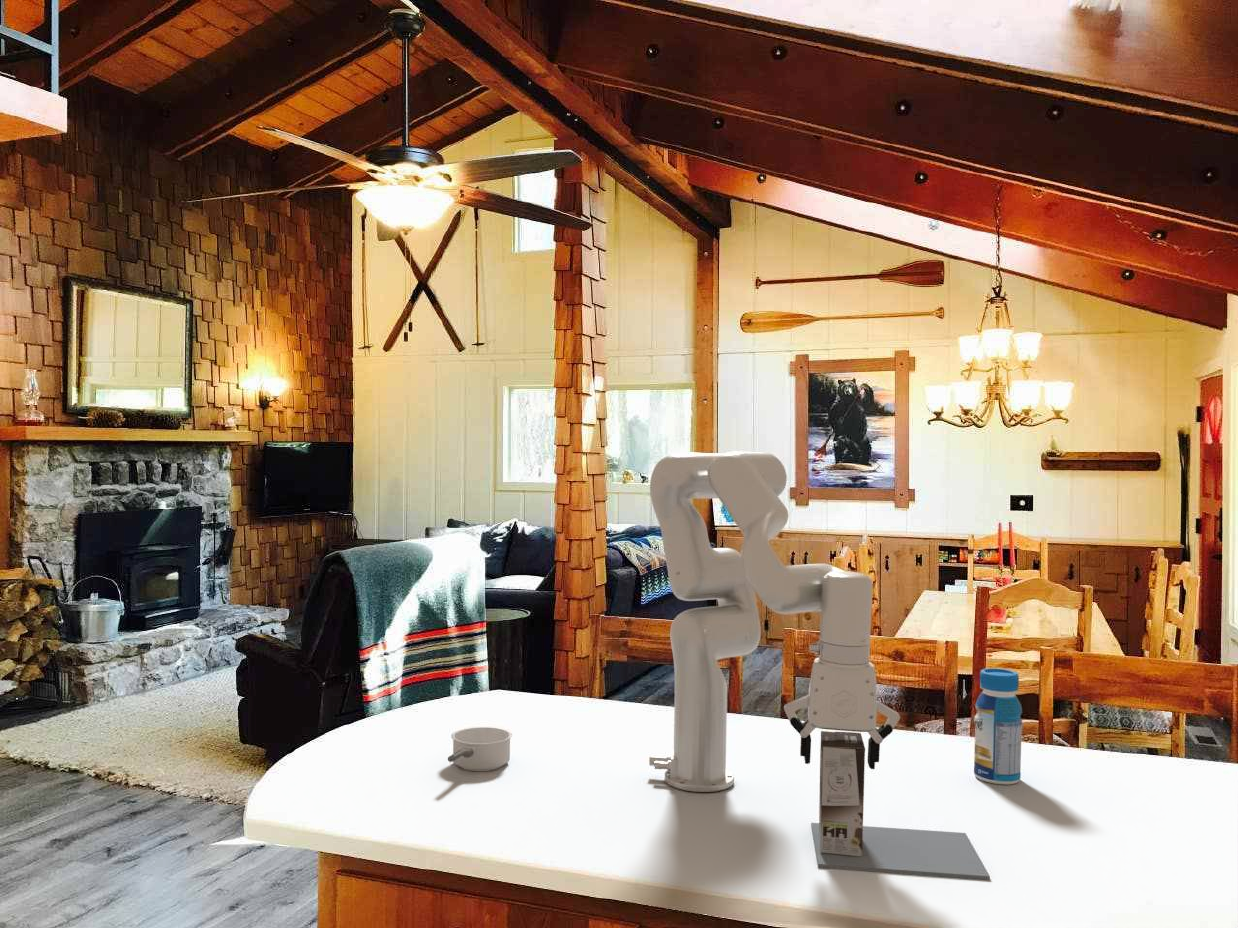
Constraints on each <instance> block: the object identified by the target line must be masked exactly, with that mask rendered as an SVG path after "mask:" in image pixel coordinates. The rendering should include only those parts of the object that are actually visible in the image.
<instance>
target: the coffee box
mask: <svg viewBox="0 0 1238 928" xmlns="http://www.w3.org/2000/svg"><path fill="white" fill-rule="evenodd" d="M819 753H820V761H819V801H818V802H819V810H818V813H819V814H818V815H819V817H818V818H819V819H818V821H819V837H820V852H821V853H830V854H840V855H849V856H858V857H860V856H862V838H863V826H864V802H865V801H864V798H865V797H864V796H865V766H866V764H865V763H866V762H865V759H866V758H865V757H866V747H865V743H864V741H863V735H862V732H854V731H827V730H825V731H823V730H821V731H820V752H819Z"/></svg>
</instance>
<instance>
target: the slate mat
mask: <svg viewBox="0 0 1238 928" xmlns="http://www.w3.org/2000/svg"><path fill="white" fill-rule="evenodd" d="M810 826H811V828H810V829H811V833H812V834H811V835H812V840H813V846H814V850H815V851H814V852H815V856H816V864H817V868H820V869H821V868H823V869H834V870H848V871H849V870H851V871H861V872H862V871H864V872H877V873H878V872H879V873H892V874H902V875H903V874H906V875H915V876H916V875H918V876H933V877H944V878H945V877H946V878H958V879H970V880H971V879H973V880H988V881H990V880H991V875H990V873H989V872H988V870H987V869H986V867H985V865H984V863H983V861H982V860H981V858H980V856H979V855H978V853H977V851H976V849H975V847H974V846H973V844H972V842H971V839H969V837H968V835H967V833H966V832H959V831H958V832H955V831H945V830H944V831H941V830H929V829H927V830H924V829H909V828H897V827H882V826H881V827H880V826H869V825H867V826H866V825H863V838H862V856H860V857H858V856H849V855H840V854H830V853H821V852H820V837H819V823H818V822H811V823H810Z"/></svg>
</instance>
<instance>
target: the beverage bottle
mask: <svg viewBox="0 0 1238 928" xmlns="http://www.w3.org/2000/svg"><path fill="white" fill-rule="evenodd" d="M1019 679H1020V677H1019V673H1017V672H1016V671H1013V670H1009V669H1007V668H1006V669H1004V668H996V667H995V668H994V667H993V668H989V667H988V668H982V669H981V670H980V672H979V686H980V689H982V691H981V692H980V694H979V696H978V697H977V699H976V702H975V704H974V706H975V710H976V714H975V715H974V718H973V722H974V761H973V762H974V763H973V764H974V765H973V773H974V776H975V777H976V778H977V779H979V780H980V781H983V782H986V783H990V784H993V785H1007V786H1008V785H1015V784H1018V783H1019V782H1020V781H1021V778H1022V777H1021V776H1022V775H1021V774H1022V773H1021V760H1022V733H1023V732H1022V731H1023V727H1024V726H1023V721H1022V718H1021V715H1022V714H1023V708H1022V704H1021V702H1020V700H1019V699H1018V696H1017V695H1016V693H1017V692H1018V691H1019V685H1020V684H1019V683H1020V680H1019Z"/></svg>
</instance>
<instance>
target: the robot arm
mask: <svg viewBox="0 0 1238 928" xmlns="http://www.w3.org/2000/svg"><path fill="white" fill-rule="evenodd" d="M784 466H785V465H784V464H783V463H782V461H780V459H779V458H777V456H775V455H774V454H772V453H769V452H762V451H760V452H759V451H753V452H752V451H731V452H726V453H714V452H713V453H710V452H709V453H707V452H679V453H674V454H673V453H672V454H669V455H667V456H664V457H663V458H661V459H659V460H658V462H657V463H656V464H655V466H654V468H653V471H652V473H651V476H650V481H649V483H650V484H649V493H650V500H651V504H652V507H653V511H654V513H655V516H656V518H657V522H658V524H659V528H660V531H661V536H662V543H663V544H662V545H663V551H664V557H665V563H666V569H667V574H668V579H669V584H670V585H669V586H670V588H671V591H672V593H673V595H674V596H675V597H676V598H677V599H678V600H681V601H685V602H686V601H687V602H695V601H697V602H698V601H707V600H710V601H711V600H717V603H718V606H717V605H713V606H712V605H711V606H704V607H694V608H690V609H687V610H683V611H682V612H680V613H679V614H677V615H676V617H674V619H673V620H672V623H671V625H670V630H669V639H670V640H669V641H670V646H671V651H672V657H673V666H674V667H673V668H674V708H673V709H674V712H673V713H674V717H673V721H674V723H673V750H672V753H671V754H668V753H667V754H666V756H664V755H663V756H662V755H659V754H658V755H657V754H650V755H649V764H648V765H649V766H650V767H654V770H665V772H664V781H665V782H666V784H668V785H669V786H671V787H673V788H675V789H679V790H681V791H687V792H693V793H694V792H695V793H696V792H697V793H712V792H713V793H714V792H720V791H725V790H726V789H729V788H731V787H732V786H733V785H734V783H735V782H734V781H735V775H734V774H733V773H732V772H731V771H730V770H728V769H727V768H726V767H727V765H726V762H727V724H728V723H727V718H728V717H727V713H728V712H727V711H728V709H727V708H728V686H727V685H728V684H727V681H726V677H725V675H724V673H723V671H722V669H721V668H720V666H719V663H718V660H722V659H728V658H736V657H742V656H747V655H749V654H751V653H753V652H754V651H755V650H756V649H757V648H758V646H759V643H760V641H761V632H762V630H761V628H762V627H761V620H760V614H759V609H758V604H757V598H756V595H757V596H758V598H759V599H760V600H761V601H762V603H763V604H764V605H765V606H766V607H767V608H768V609H770V610H771V611H773V612H774V613H777V614H778V615H793V614H801V613H809V612H810V613H814V612H820V622H819V639H818V640H817V641H816V642H814V643H809V653H814V654H816V655H817V656H818V657H816V658H814V660H813V662H812V668H811V675H810V679H809V687H808V694H806V695H805V696H804V695H803V696H801V697H800V698H798V699H795V700H792V701H789V702H788V703H785V704H784V706H783V710H784V712H785V714H786V717H787V719H788V721H789V722H790V723H789V724H790V725H791V726H792V727H793V729H794V730H796V732H797V733H798V734H799V735H800V748H799V749H800V750H799V751H800V752H799V753H800V754H799V755H800V757H804V764H806V765H810V763H811V754H812V753H811V750H812V749H811V748H812V737H811V734H812V732H813V731H814V730H815V729H822V730H829V731H831V730H832V731H841V732H854V733H868V735H869V736H870V737H869V738H868V742H867V743H868V745H867V765H868V768H869V769H870V770H875V769H876V763H879V762H880V751H881V750H880V747H881V743H882V742H883V740H885V738H887V737H888V736H890V735H891V734H892V733H893V731H894V728H895V727H896V726H897V724H898V723H899V721H900V718H901V716H900V714H899V713H898V711H896V710H894V709H893V708H891V707H889V706H888V705H885V704H884V703H882V702H881V701H879V700H878V692H877V686H878V685H877V675H876V669H875V668H876V667H875V665H874V663H872V662H871V661H870V651H871V650H870V649H871V631H872V630H871V627H872V626H871V625H872V607H873V606H872V605H873V581H872V579H871V577H869V576H868V575H867V574H865V573H863V572H859V571H858V572H857V571H848V570H847V571H846V570H843V569H841V568H839V567H837V566H834V565H832V564H828V563H806V564H803V563H802V564H789V565H784V564H783V562H782V561H781V560H780V559H779V557H778V555H776V553H775V551H774V550H773V548H772V547H771V544H770V542H769V541H771V540H772V539H773V538H775V537H776V536H777V535H778V534H779V533H781V531H782V530H783V529H785V526H786V525H787V522H788V521H789V520H788V519H789V510H788V509H787V507H786V506H785V504H784V503H783V501H782V500H781V499H780V497H779V496H780V495H781V494H783V492H784V491H785V488H786V486H787V480H788V479H787V478H788V477H787V472H786V468H785V467H784ZM693 499H697V500H699V499H700V500H701V499H704V500H705V499H707V500H708V499H719V501H720V503H721V504H722V505H723V507H724V508H725V510H726V511H727V512H728V514H729V516H730V517H731V518H732V520H733V522H734V523H735V524H736V526H737V528H738V529H739V530H740V532H741V533H742V536H743V540H742V543H741V552H739V551H738V550H736V549H734V548H729V547H715V548H714V547H712V546H711V543H710V539H709V533H708V528H707V527H708V526H707V524H706V522H705V520H704V518H703V516H702V514H701V513H700V512H699V510H698V509H697V507H695V506H694V504H692V502H691V501H692V500H693ZM805 707H807V708H806V709H807V719H805V720H804V722H802V721H801V720H800V719H799V717H798V716H797V715H796V712H797V711H799V710H801V709H803V708H805ZM878 713H880V714H881V715H883V716H885V717H887V719H886V722H885V723H883V724H882V725H881V726H879V727H878V728H877V719H878V718H877V717H878Z"/></svg>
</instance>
